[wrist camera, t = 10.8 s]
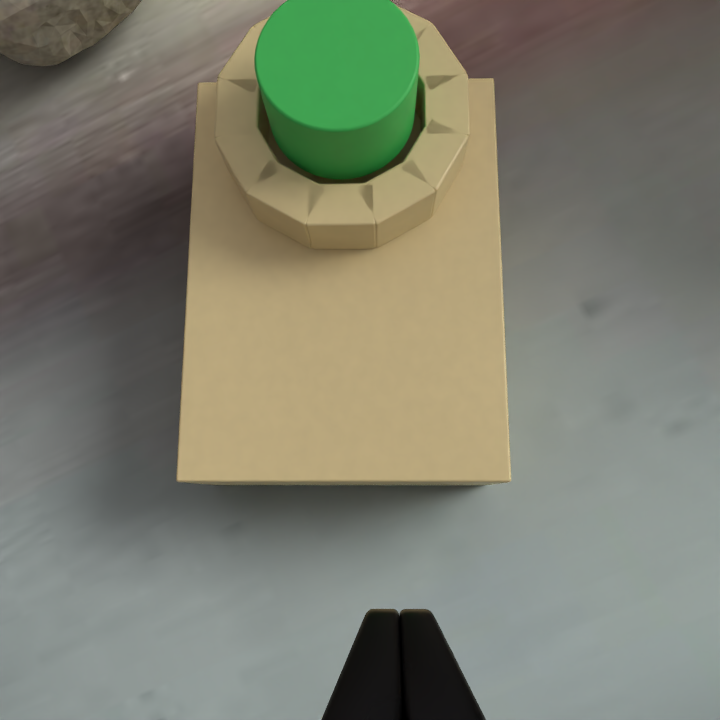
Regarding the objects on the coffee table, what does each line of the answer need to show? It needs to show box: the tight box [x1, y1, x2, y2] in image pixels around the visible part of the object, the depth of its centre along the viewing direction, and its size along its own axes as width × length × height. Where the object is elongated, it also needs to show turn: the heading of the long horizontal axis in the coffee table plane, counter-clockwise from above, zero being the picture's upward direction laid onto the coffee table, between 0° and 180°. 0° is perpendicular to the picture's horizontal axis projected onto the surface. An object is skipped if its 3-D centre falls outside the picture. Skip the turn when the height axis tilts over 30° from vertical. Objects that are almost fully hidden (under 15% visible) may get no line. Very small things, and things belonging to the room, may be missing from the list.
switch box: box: [176, 5, 511, 485], centre depth 21 cm, size 13×9×6 cm
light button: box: [254, 0, 420, 180], centre depth 18 cm, size 4×4×2 cm
